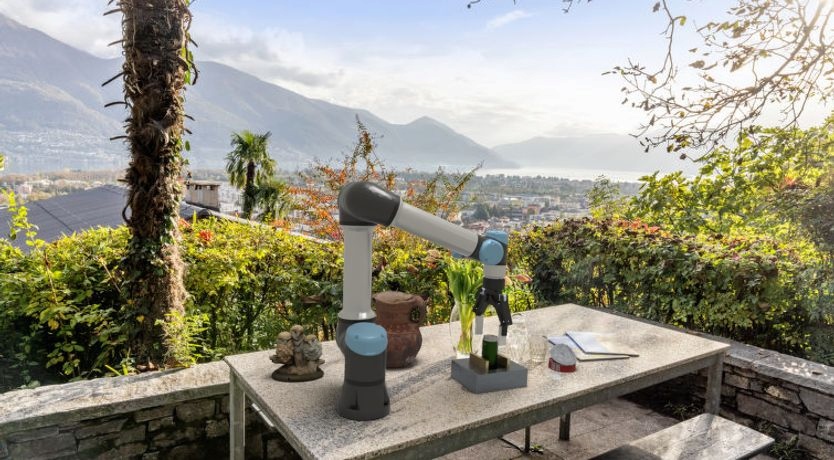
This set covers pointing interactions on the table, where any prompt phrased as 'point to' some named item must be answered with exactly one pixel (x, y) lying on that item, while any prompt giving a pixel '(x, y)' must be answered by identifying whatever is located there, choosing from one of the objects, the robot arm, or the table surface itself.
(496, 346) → the beer can
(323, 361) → the owl figurine
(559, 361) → the canned food
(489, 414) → the table surface
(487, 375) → the grey fixture block
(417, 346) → the jug
